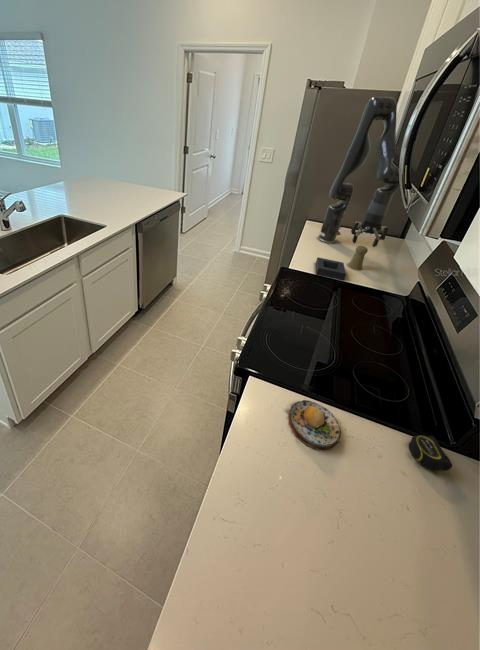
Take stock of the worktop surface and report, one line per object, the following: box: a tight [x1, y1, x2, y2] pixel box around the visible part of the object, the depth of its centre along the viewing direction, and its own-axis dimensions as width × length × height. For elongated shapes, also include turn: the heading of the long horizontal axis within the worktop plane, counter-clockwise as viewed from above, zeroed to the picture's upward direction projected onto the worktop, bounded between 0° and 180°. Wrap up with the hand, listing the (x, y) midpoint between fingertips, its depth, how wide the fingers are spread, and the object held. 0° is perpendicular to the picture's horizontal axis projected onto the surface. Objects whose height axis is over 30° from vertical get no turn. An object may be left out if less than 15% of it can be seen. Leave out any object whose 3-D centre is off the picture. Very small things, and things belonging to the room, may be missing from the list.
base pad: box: [315, 257, 347, 281], centre depth 145 cm, size 12×12×4 cm
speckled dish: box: [287, 399, 342, 451], centre depth 72 cm, size 12×12×8 cm
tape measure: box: [408, 434, 453, 471], centre depth 69 cm, size 7×7×4 cm
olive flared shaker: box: [347, 245, 368, 271], centre depth 150 cm, size 6×6×11 cm
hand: (363, 244), depth 147 cm, fingers open, 8 cm apart
